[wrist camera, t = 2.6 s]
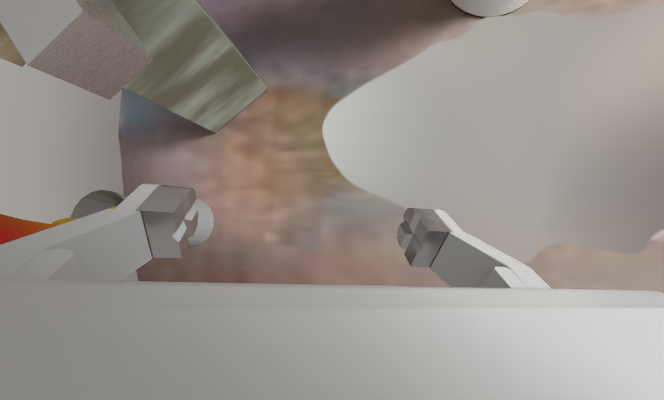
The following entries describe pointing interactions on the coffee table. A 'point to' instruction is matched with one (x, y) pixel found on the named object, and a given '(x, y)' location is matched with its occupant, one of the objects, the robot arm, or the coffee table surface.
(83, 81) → the gray rectangular block
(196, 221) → the robot arm
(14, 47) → the stand
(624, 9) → the coffee table surface
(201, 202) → the lava lamp
